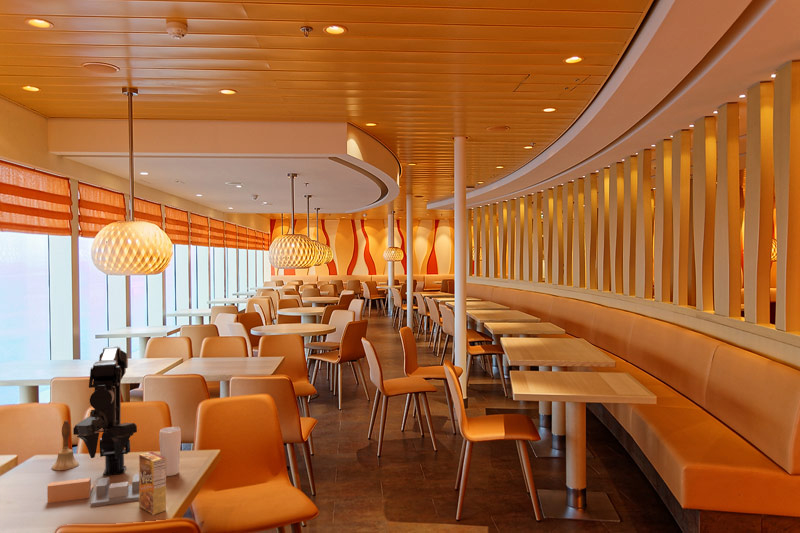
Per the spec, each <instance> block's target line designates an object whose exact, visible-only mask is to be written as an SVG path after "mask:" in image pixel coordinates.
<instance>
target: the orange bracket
mask: <svg viewBox="0 0 800 533" xmlns="http://www.w3.org/2000/svg"><path fill="white" fill-rule="evenodd" d="M91 482H92V478H91V477H86V478H80V479H79V478H78V479H68V480H62V481H61V480H59V481H52V482H49V483H48V485H47V492H46V494H47V504H50V503H51V502H52V503H59V502H66V501H67V502H68V501H73V500H81V499H83V500H84V499H89V498H90V497H91V495H92V492H93V489H94V485H93V484H92V483H91Z"/></svg>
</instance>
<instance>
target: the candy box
mask: <svg viewBox="0 0 800 533" xmlns="http://www.w3.org/2000/svg"><path fill="white" fill-rule="evenodd" d="M138 457H139V464H138V465H139V471H138V472H139V473H138V474H139V500H138V504H139V505H138V507H140V508H141V509H143V510H145V511H147V512H148V513H150V514H151V515H152V516H154V515H157V514H159V513H162V512H165V511H167V476H166V458H165V457H163V456H161V454H158V453H155V452H154V451H148V452H144V453H140V454H139V456H138Z"/></svg>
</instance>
